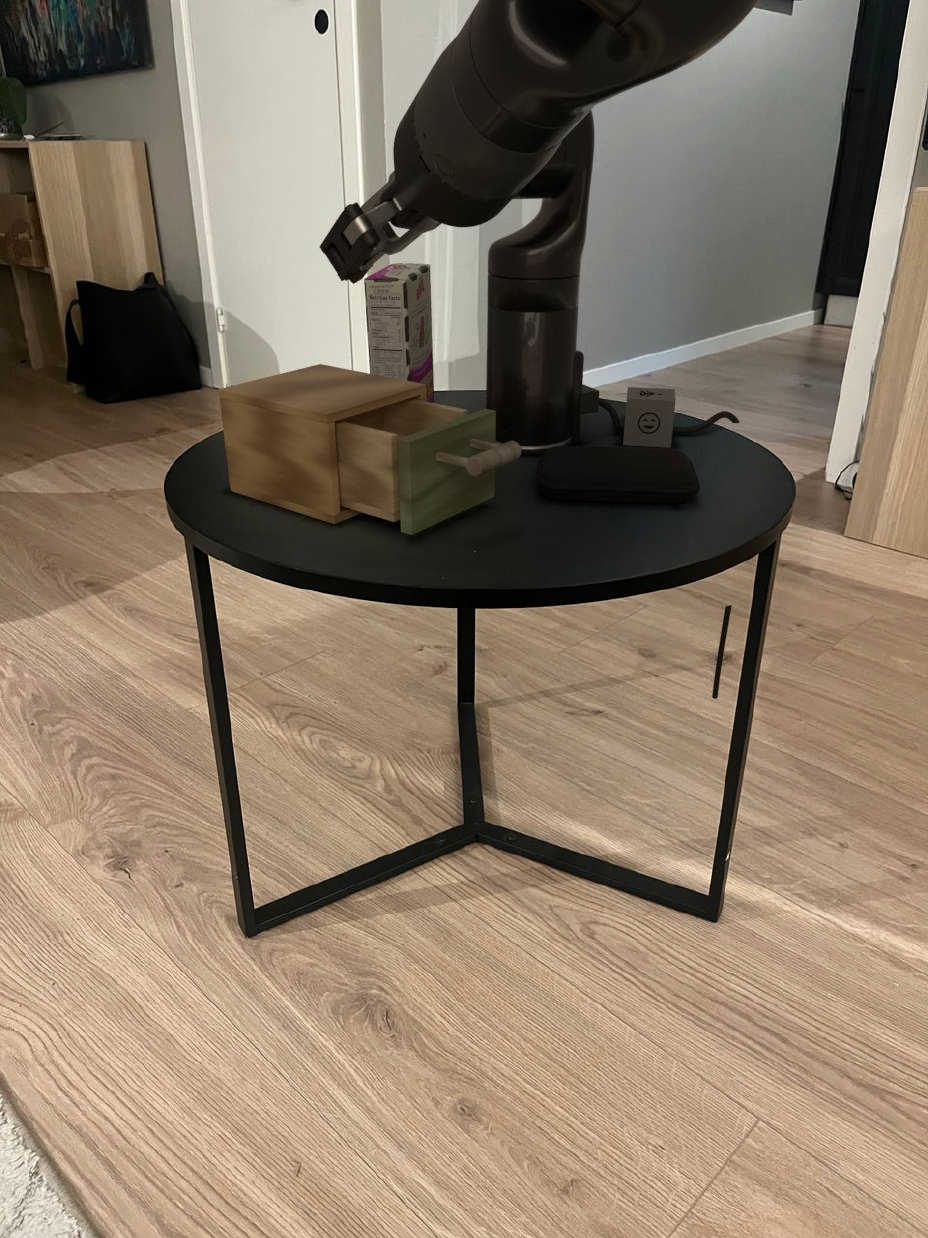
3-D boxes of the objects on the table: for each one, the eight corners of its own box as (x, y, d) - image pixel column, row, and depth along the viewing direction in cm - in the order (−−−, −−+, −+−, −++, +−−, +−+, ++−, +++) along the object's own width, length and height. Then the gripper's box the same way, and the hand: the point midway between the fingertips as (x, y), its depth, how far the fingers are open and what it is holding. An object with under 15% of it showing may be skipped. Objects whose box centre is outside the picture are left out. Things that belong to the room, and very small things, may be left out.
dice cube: (624, 431, 106) (627, 386, 104) (670, 434, 105) (674, 388, 103) (623, 445, 102) (626, 398, 99) (670, 447, 101) (675, 400, 98)
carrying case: (687, 471, 94) (538, 466, 95) (691, 441, 92) (539, 436, 94) (700, 510, 84) (534, 504, 86) (704, 477, 83) (535, 472, 84)
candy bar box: (395, 404, 116) (390, 262, 109) (435, 406, 116) (433, 263, 108) (369, 429, 107) (361, 275, 99) (412, 432, 106) (408, 277, 98)
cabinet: (428, 485, 90) (426, 384, 86) (334, 524, 82) (327, 414, 77) (326, 458, 98) (320, 363, 93) (230, 491, 89) (218, 388, 84)
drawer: (539, 508, 82) (543, 420, 79) (458, 549, 74) (457, 453, 71) (390, 469, 92) (387, 388, 88) (303, 502, 84) (296, 414, 80)
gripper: (541, 8, 53) (443, 145, 68) (336, 120, 48) (281, 239, 64) (612, 132, 54) (500, 239, 69) (419, 251, 50) (345, 337, 65)
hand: (395, 239), depth 66 cm, fingers open, 8 cm apart
